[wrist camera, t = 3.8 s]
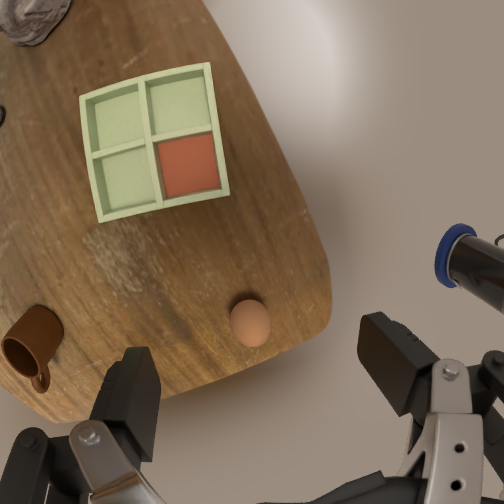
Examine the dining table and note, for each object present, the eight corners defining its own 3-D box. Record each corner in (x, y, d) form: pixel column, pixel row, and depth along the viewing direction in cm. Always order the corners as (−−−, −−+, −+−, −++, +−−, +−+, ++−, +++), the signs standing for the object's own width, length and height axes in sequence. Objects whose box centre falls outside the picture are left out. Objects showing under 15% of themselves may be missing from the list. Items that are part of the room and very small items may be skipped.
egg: (259, 286, 38) (271, 316, 30) (269, 316, 39) (282, 350, 32) (222, 298, 37) (226, 330, 30) (234, 328, 39) (240, 363, 32)
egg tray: (209, 71, 28) (209, 61, 25) (228, 192, 33) (230, 195, 30) (90, 101, 27) (78, 96, 24) (108, 217, 32) (98, 223, 29)
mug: (77, 366, 38) (59, 404, 29) (43, 361, 37) (23, 395, 28) (57, 305, 34) (29, 339, 25) (23, 302, 33) (-7, 332, 24)
